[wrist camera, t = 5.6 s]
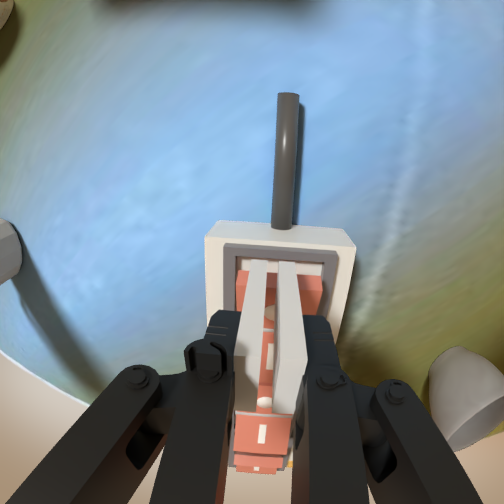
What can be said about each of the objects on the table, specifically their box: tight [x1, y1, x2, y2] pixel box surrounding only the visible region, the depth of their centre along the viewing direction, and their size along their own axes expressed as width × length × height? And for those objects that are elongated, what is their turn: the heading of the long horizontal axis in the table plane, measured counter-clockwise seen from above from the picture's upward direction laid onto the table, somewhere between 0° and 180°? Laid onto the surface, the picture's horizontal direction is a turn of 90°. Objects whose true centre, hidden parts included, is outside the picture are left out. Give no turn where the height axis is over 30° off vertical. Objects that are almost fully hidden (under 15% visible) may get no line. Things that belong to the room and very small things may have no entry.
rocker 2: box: [233, 451, 283, 474], centre depth 23 cm, size 8×5×2 cm, turn 178°
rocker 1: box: [236, 270, 323, 383], centre depth 16 cm, size 8×5×2 cm, turn 178°
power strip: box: [205, 92, 356, 471], centre depth 21 cm, size 37×9×5 cm, turn 177°
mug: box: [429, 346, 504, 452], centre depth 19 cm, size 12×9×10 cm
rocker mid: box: [233, 382, 293, 455], centre depth 20 cm, size 8×5×2 cm, turn 177°
